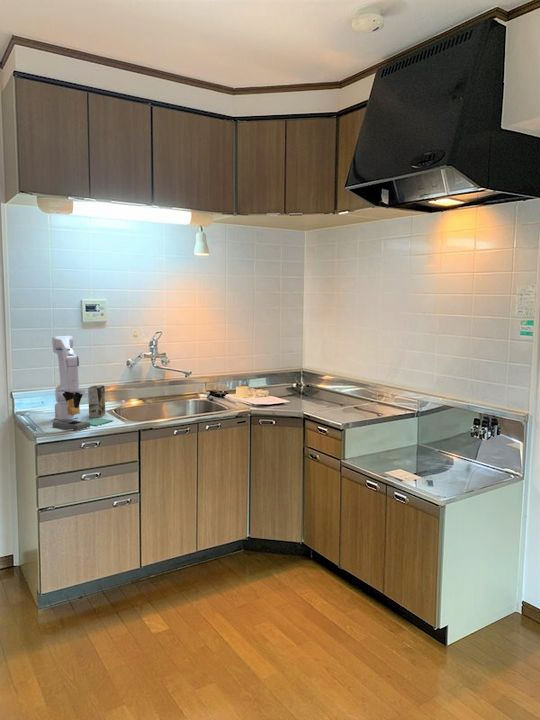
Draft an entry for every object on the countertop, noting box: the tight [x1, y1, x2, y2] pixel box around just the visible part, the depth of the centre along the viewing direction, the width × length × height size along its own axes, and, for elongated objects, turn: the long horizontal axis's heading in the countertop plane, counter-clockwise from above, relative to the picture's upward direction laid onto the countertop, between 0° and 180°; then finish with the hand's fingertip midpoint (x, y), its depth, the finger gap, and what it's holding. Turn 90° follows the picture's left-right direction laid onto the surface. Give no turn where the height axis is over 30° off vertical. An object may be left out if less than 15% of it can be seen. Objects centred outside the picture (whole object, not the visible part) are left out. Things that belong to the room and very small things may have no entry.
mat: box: [82, 417, 114, 427], centre depth 283 cm, size 12×12×1 cm
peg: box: [67, 399, 81, 416], centre depth 271 cm, size 4×4×7 cm
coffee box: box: [87, 385, 106, 418], centre depth 298 cm, size 9×6×16 cm
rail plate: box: [52, 419, 91, 431], centre depth 273 cm, size 17×8×3 cm, turn 63°
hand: (73, 407), depth 271 cm, fingers closed on peg, 4 cm apart
